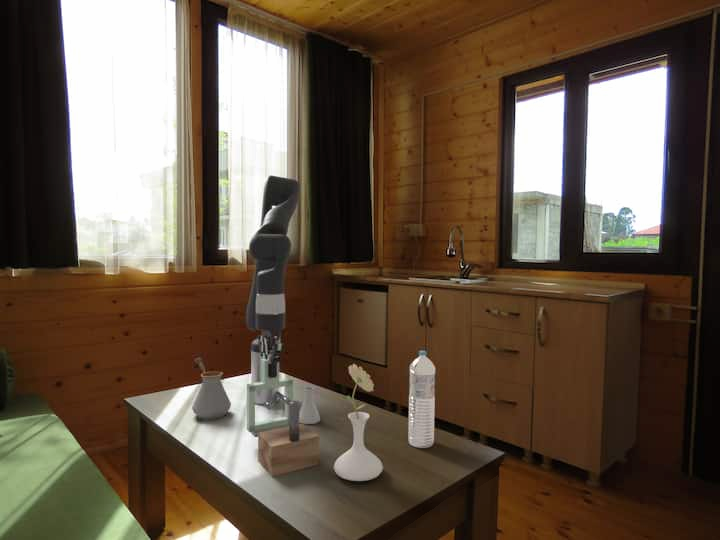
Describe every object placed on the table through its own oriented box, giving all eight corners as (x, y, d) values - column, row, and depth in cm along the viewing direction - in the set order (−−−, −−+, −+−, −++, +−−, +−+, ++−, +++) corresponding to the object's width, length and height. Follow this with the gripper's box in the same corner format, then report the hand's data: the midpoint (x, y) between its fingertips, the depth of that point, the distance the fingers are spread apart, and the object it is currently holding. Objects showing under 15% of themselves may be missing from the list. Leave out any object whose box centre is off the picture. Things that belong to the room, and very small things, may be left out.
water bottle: (418, 436, 130) (420, 347, 129) (439, 443, 125) (440, 351, 124) (403, 443, 125) (404, 351, 124) (423, 451, 121) (425, 355, 119)
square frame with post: (245, 431, 123) (245, 359, 122) (287, 422, 129) (288, 354, 128) (251, 438, 118) (251, 364, 117) (295, 429, 125) (295, 358, 124)
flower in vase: (389, 482, 105) (391, 372, 103) (340, 489, 101) (341, 376, 100) (371, 457, 117) (373, 358, 116) (327, 462, 114) (327, 361, 112)
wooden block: (258, 461, 114) (258, 432, 114) (303, 450, 121) (303, 423, 120) (271, 476, 107) (271, 446, 106) (318, 464, 113) (318, 436, 112)
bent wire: (260, 414, 126) (260, 381, 126) (269, 412, 128) (269, 380, 127) (291, 442, 109) (291, 404, 108) (301, 440, 110) (301, 402, 109)
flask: (316, 426, 137) (317, 392, 136) (293, 424, 138) (293, 390, 138) (323, 417, 144) (323, 385, 143) (301, 415, 145) (301, 383, 145)
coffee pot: (236, 417, 143) (236, 368, 142) (197, 424, 137) (197, 374, 136) (215, 397, 161) (215, 354, 160) (180, 403, 154) (180, 359, 154)
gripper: (247, 308, 126) (248, 371, 127) (266, 315, 114) (266, 385, 115) (274, 306, 130) (274, 368, 131) (294, 313, 118) (294, 380, 119)
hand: (270, 375), depth 123 cm, fingers closed on square frame with post, 2 cm apart
